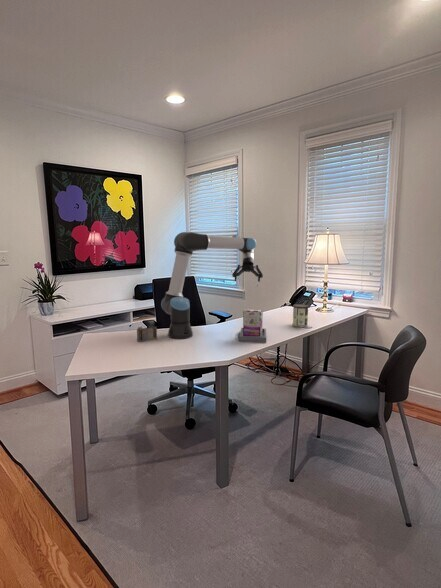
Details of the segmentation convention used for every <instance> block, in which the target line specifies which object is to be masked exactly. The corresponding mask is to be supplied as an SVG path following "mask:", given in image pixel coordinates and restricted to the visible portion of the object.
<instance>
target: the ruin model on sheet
mask: <svg viewBox="0 0 441 588" xmlns="http://www.w3.org/2000/svg"><path fill="white" fill-rule="evenodd" d="M136 340H137V343H139V342H150V341H155V340H158V328H157V326H152V327H144V328H143V326H138V327H137V329H136Z"/></svg>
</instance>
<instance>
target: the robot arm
mask: <svg viewBox="0 0 441 588" xmlns="http://www.w3.org/2000/svg"><path fill="white" fill-rule="evenodd" d="M173 245H174V249H173V250H174V253H175V256H174V263H173V267H172V271H171V272H172V273H171V278H170V282H169V288H168V291H165V295H164V297H163V298H162V299H161V303H160V306H161V309H162V310H163V311H164V313H166V314H168V315H169V316H170V326H169V328H168V333H167V336H168V337H169V338H171V339H175V340H176V339H177V340H181V339H182V340H183V339H189V338H191V337H193V335H194V334H193V328H192V326H191V322H190V317H191V316H190V314H191V311H190V310H191V309H190V308H191V307H190V306H191V304H190V299H188V298H187V297H184V295H183V288H184V284H185V280H186V279H185V278H186V274H187V270H188V265H189V259H190V257H191V256H193V252H194V251H206V250H209V249H211V250H212V249H215V250H219V249H220V250H221V249H224V250H238V251H240V252H241V253H243V254H242V264H237V267H236V269H235V270H234V271H233V273H232V278H234V282H235V286H236V287H238V283H239V276H240V275H242V274H243V273H245V272H246V273H247V272H248V273H252V274H253V275H255V277H256V287H259V283H260V282H261V279H262V278H263V276H264V274H263V273H262V271H261V270H260V268H259V265H258V264H256V265H254V264H255V263H254V261H255V259H254V258H255V248H256V247H257V240H256V239H255V238H253V237H239V236H238V235H236V234H234V235H233V236H214V235H212V236H211V235H208V234H204V233H196V232H192V231H191V232H190V231H187V232H186V231H182V232H180V233H177V235H175V237H174V240H173Z"/></svg>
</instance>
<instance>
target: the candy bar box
mask: <svg viewBox="0 0 441 588" xmlns="http://www.w3.org/2000/svg"><path fill="white" fill-rule="evenodd" d="M242 313H243V314H242V315H243V316H242V318H243V320H242V328H243V336H254V337H262V328H263V321H264V320H263V315H264V314H263V313H264V311H263V309H262V310H261V309H251V308H245V309H243V311H242Z"/></svg>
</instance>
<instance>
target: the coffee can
mask: <svg viewBox="0 0 441 588" xmlns="http://www.w3.org/2000/svg"><path fill="white" fill-rule="evenodd" d="M292 306H293V309H292V326H294V327H298V328H305V327H308V323H309V321H308V320H309V316H308V314H309V305H308V304H304V303H303V304H301V303H298V304H297V303H295V304H293V305H292Z"/></svg>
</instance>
